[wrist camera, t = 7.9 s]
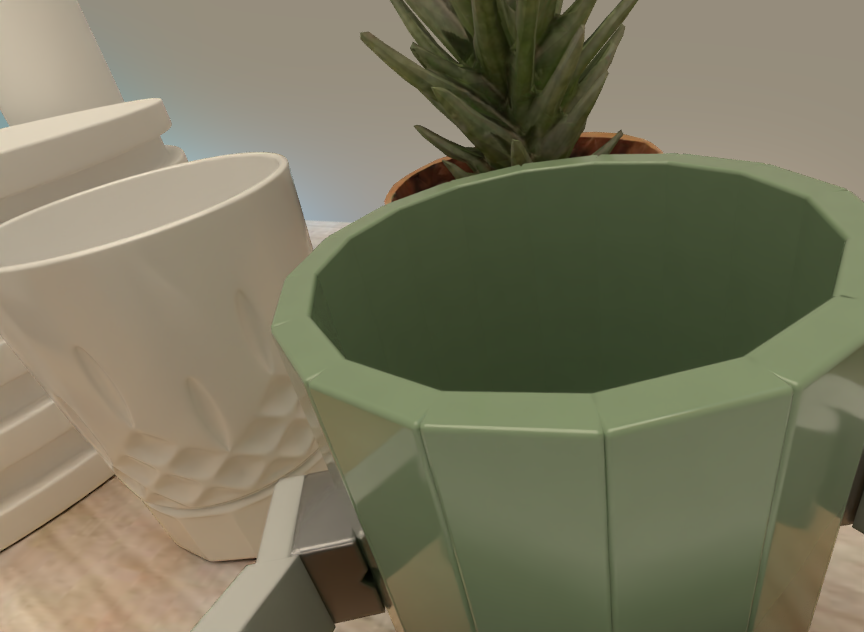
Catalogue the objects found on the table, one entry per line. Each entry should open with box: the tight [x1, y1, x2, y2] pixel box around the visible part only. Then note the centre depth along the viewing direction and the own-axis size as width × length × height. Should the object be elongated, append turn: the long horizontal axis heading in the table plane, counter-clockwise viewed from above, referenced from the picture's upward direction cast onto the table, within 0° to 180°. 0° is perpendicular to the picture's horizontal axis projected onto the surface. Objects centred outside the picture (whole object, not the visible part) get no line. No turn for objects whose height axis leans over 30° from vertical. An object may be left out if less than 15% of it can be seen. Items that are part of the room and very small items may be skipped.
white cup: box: [0, 152, 328, 562], centre depth 15 cm, size 8×8×10 cm
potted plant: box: [360, 0, 664, 205], centre depth 15 cm, size 10×10×25 cm
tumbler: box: [271, 153, 864, 632], centre depth 9 cm, size 6×6×10 cm
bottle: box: [0, 0, 124, 127], centre depth 37 cm, size 8×8×30 cm
